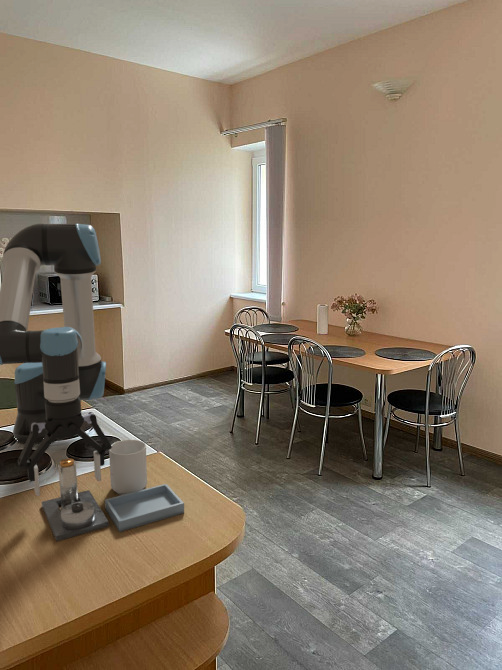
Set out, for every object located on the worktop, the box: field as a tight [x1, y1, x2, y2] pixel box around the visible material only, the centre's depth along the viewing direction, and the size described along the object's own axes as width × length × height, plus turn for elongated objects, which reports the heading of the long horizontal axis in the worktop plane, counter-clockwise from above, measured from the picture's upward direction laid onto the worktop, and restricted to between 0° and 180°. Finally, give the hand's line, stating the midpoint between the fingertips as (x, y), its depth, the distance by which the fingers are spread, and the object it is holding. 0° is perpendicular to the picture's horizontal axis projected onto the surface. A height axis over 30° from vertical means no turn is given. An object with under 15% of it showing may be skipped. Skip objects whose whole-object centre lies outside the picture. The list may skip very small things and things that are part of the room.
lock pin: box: [57, 457, 79, 510], centre depth 122 cm, size 4×4×12 cm
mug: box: [108, 439, 148, 496], centre depth 133 cm, size 12×9×11 cm
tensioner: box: [41, 489, 110, 542], centre depth 120 cm, size 16×11×5 cm
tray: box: [104, 483, 185, 533], centre depth 122 cm, size 15×11×2 cm
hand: (68, 485), depth 122 cm, fingers open, 13 cm apart
